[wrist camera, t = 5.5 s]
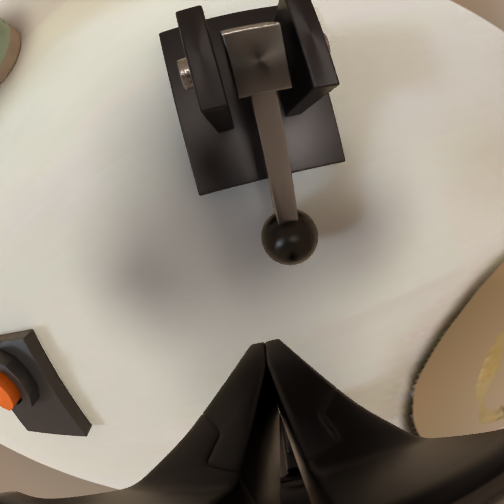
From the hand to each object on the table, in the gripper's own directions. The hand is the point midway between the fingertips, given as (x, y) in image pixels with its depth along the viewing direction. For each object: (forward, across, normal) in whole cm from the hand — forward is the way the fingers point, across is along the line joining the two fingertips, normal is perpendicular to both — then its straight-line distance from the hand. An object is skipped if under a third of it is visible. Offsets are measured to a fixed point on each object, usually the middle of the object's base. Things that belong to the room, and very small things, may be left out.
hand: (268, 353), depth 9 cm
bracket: (+12, -2, -10) cm, 15 cm away
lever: (+9, -2, -6) cm, 11 cm away
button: (+9, +26, +7) cm, 28 cm away
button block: (+12, +26, +9) cm, 30 cm away
